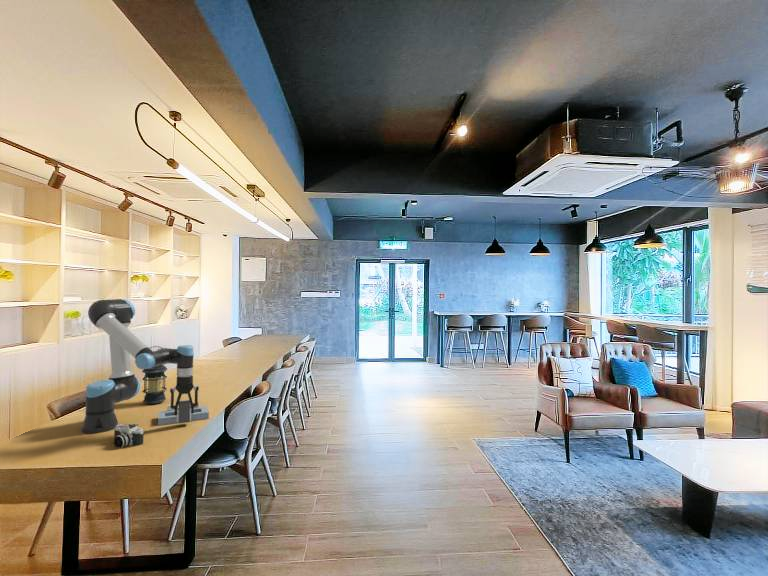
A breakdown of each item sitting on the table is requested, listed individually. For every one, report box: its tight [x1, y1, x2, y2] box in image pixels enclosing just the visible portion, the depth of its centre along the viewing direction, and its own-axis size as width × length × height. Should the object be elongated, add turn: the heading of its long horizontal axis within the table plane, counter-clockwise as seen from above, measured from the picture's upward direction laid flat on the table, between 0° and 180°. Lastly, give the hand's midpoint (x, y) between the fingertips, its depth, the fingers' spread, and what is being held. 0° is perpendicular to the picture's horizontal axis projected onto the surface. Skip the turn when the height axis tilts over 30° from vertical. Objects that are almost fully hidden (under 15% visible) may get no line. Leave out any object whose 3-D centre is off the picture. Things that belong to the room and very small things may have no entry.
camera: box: [113, 423, 145, 449], centre depth 183 cm, size 16×9×10 cm, turn 72°
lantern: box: [141, 345, 168, 405], centre depth 250 cm, size 14×13×35 cm
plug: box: [178, 399, 191, 424], centre depth 209 cm, size 5×5×10 cm
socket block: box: [157, 401, 210, 426], centre depth 220 cm, size 24×14×7 cm, turn 119°
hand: (183, 420), depth 209 cm, fingers closed on plug, 5 cm apart
